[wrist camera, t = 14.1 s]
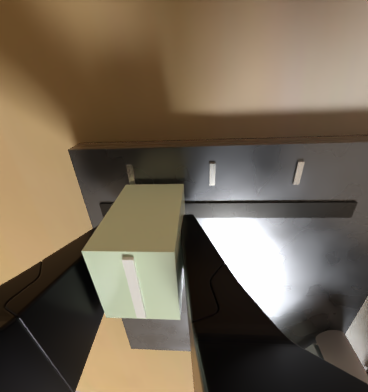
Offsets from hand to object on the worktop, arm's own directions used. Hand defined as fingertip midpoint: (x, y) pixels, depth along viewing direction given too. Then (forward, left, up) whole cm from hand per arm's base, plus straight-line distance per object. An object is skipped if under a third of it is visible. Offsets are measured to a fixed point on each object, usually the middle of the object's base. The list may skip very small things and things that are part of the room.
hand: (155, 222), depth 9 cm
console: (-4, +5, -2) cm, 7 cm away
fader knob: (0, 0, -1) cm, 1 cm away
